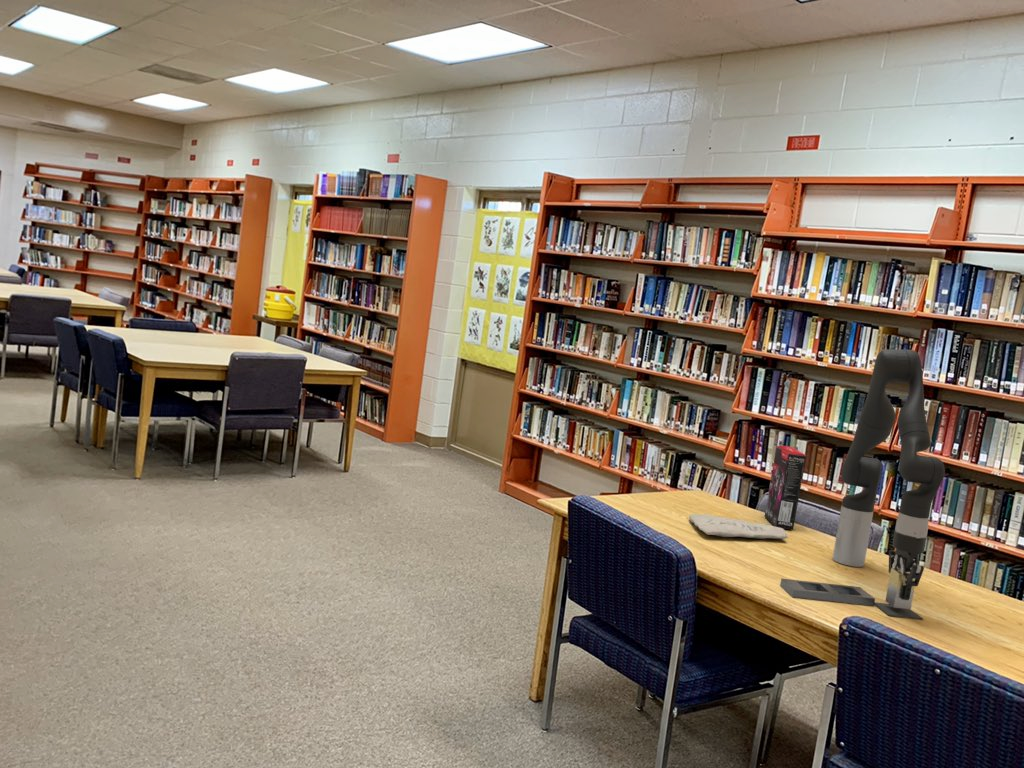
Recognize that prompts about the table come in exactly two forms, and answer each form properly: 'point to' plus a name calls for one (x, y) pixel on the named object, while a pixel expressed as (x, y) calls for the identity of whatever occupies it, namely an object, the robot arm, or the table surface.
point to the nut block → (897, 590)
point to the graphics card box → (785, 487)
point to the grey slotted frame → (827, 592)
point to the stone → (735, 527)
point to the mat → (897, 611)
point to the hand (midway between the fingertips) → (899, 595)
